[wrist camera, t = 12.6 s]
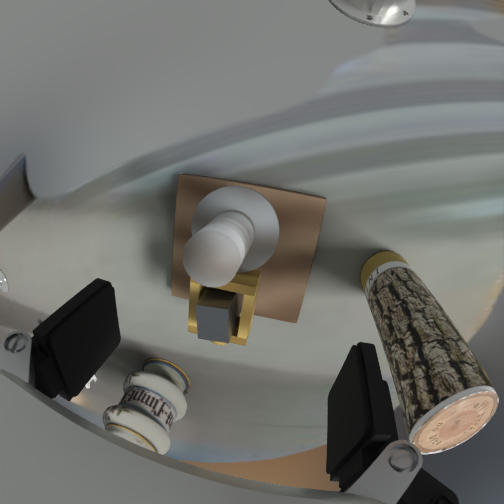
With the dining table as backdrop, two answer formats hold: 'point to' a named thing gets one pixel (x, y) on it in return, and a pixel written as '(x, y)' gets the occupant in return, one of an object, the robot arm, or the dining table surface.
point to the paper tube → (426, 358)
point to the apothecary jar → (149, 405)
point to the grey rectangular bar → (218, 314)
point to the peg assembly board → (244, 246)
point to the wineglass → (3, 282)
